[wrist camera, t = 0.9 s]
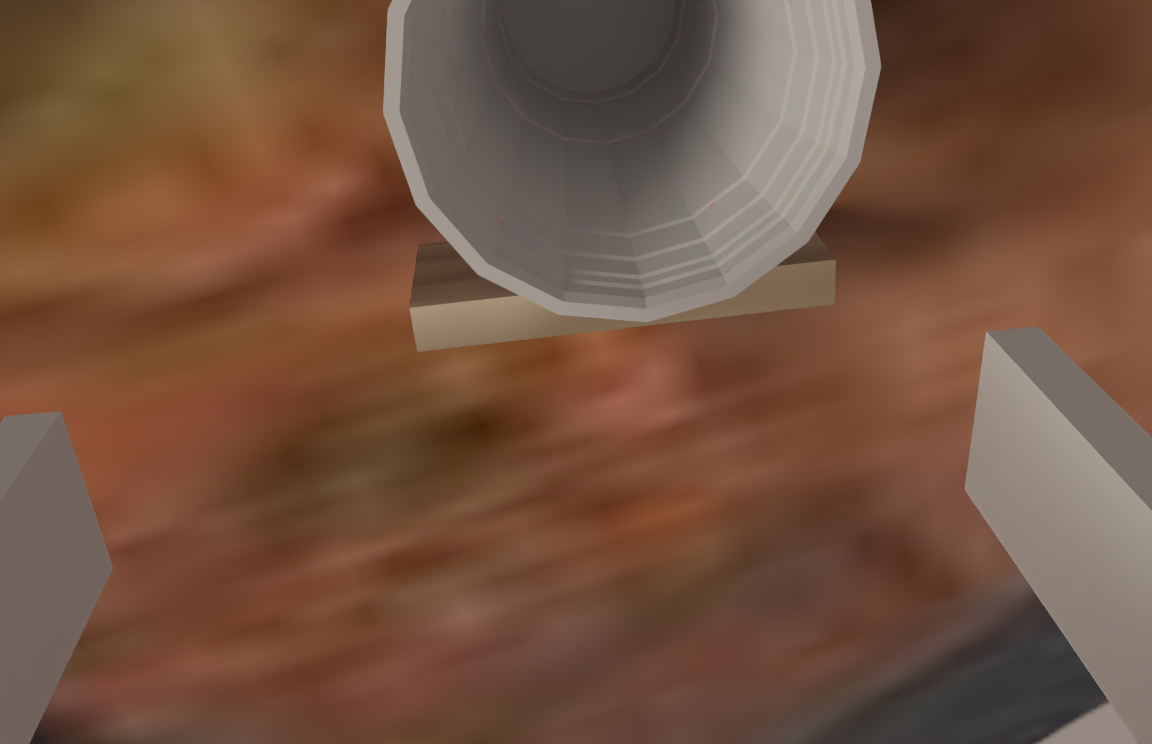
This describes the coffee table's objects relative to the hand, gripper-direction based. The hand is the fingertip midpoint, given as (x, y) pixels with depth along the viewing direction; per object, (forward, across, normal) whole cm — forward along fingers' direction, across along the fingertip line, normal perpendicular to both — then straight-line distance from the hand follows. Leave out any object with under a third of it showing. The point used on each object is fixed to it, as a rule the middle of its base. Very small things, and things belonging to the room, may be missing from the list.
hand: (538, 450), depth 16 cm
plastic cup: (+22, +3, +3) cm, 22 cm away
